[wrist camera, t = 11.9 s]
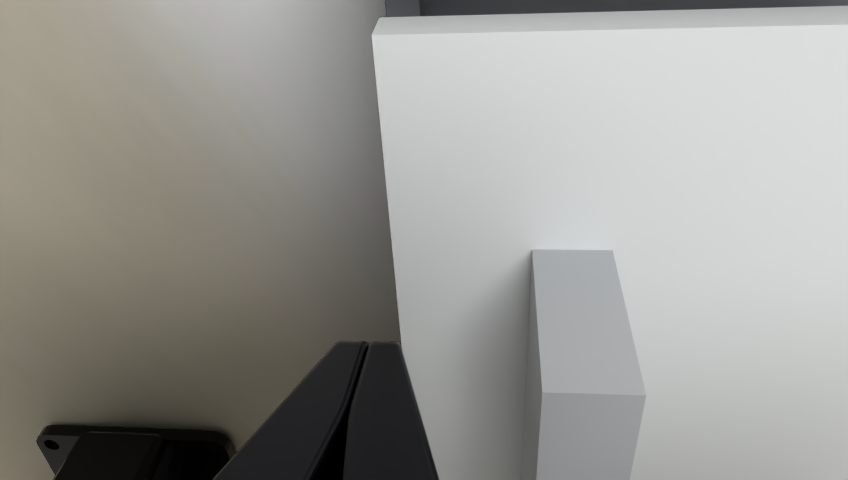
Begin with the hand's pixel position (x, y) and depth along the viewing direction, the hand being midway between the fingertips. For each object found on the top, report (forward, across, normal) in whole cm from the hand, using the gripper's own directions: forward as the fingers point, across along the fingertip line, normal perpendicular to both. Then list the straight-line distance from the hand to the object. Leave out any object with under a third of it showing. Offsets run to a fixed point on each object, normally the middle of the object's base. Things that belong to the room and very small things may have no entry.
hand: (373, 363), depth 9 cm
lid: (+1, -6, +2) cm, 7 cm away
